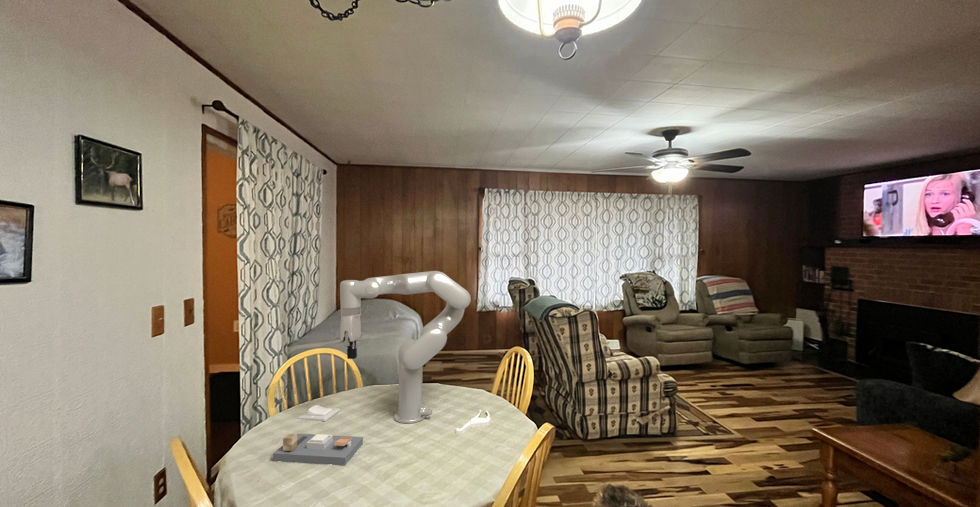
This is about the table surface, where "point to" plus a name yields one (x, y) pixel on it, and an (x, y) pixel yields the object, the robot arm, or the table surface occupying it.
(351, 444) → the switch panel
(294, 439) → the slider knob
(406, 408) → the robot arm
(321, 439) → the push button
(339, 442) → the rocker paddle
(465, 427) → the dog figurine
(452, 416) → the table surface
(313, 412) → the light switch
